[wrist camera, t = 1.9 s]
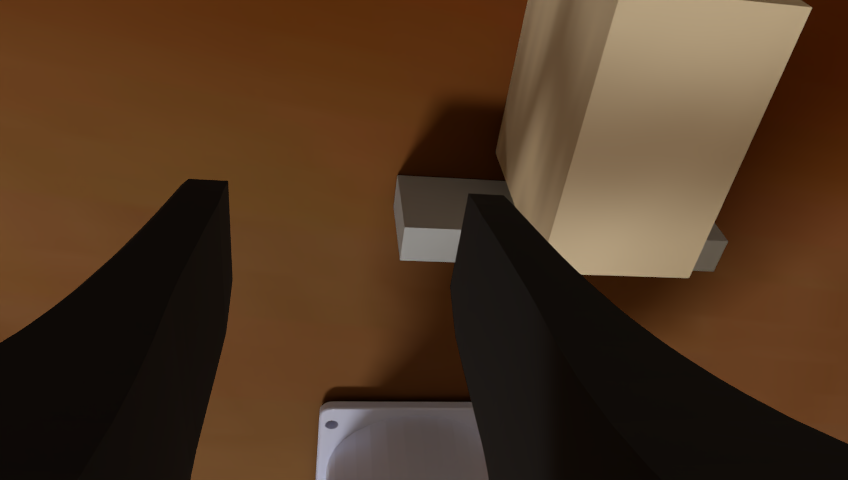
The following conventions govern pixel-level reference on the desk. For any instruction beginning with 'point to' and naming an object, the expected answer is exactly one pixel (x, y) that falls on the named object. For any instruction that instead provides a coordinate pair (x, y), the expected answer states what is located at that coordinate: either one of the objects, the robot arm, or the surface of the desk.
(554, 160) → the block
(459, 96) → the desk surface
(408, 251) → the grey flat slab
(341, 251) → the desk surface
